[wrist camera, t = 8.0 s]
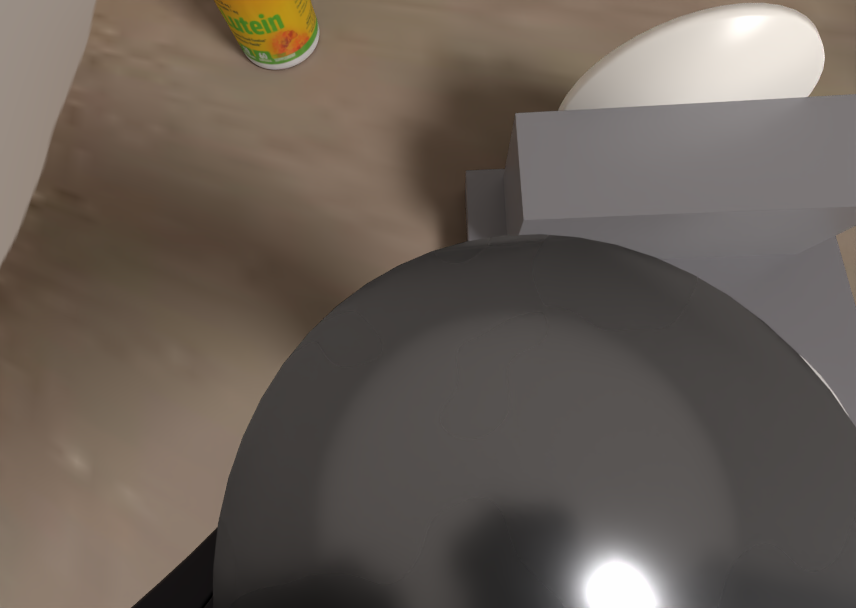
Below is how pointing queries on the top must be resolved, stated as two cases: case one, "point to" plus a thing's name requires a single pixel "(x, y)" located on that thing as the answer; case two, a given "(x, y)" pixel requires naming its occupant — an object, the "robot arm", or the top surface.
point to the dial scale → (703, 171)
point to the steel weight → (541, 446)
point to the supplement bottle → (272, 30)
